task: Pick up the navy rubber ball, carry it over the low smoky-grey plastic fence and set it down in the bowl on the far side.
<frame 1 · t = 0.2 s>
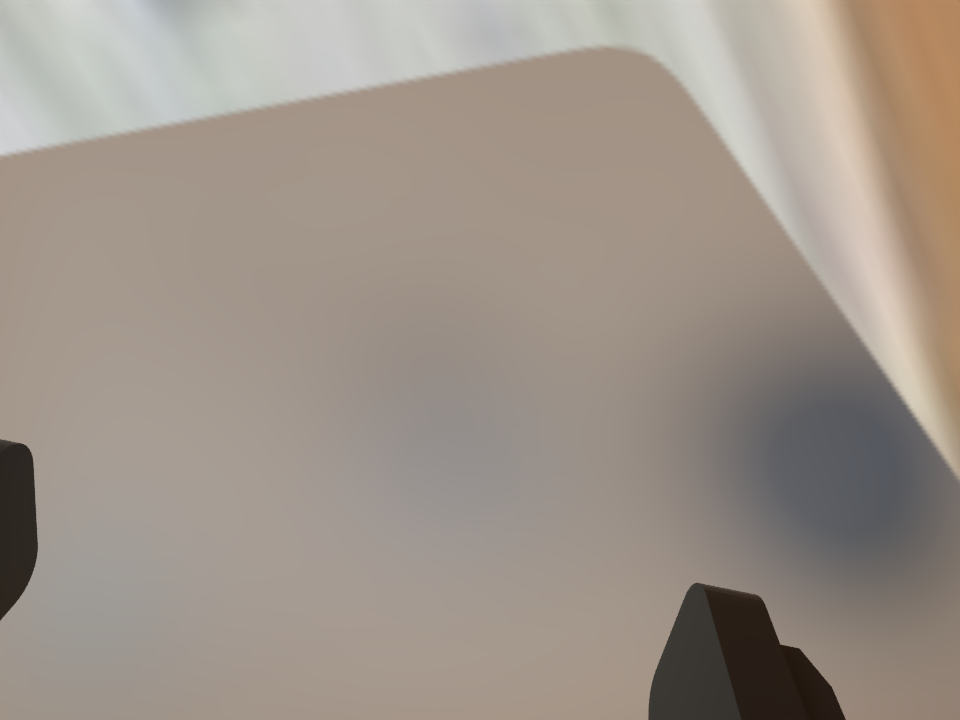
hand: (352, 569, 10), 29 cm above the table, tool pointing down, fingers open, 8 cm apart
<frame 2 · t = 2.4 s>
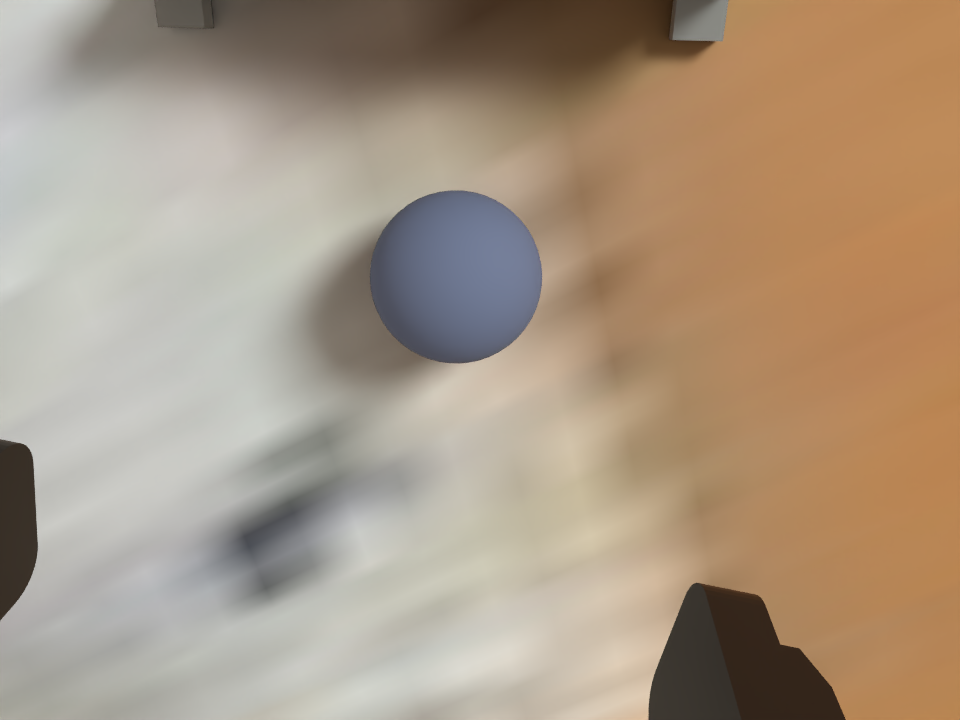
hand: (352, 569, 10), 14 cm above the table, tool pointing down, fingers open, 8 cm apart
ball: (464, 253, 22), on the table
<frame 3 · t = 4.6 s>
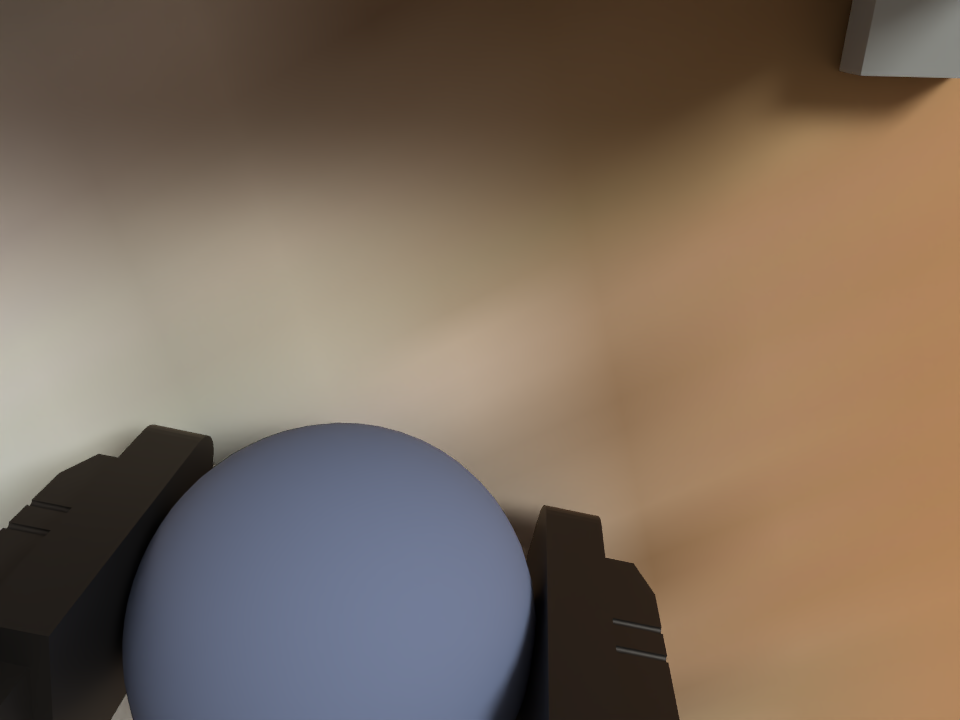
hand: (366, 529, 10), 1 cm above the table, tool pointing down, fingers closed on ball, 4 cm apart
ball: (375, 506, 11), on the table, touching gripper
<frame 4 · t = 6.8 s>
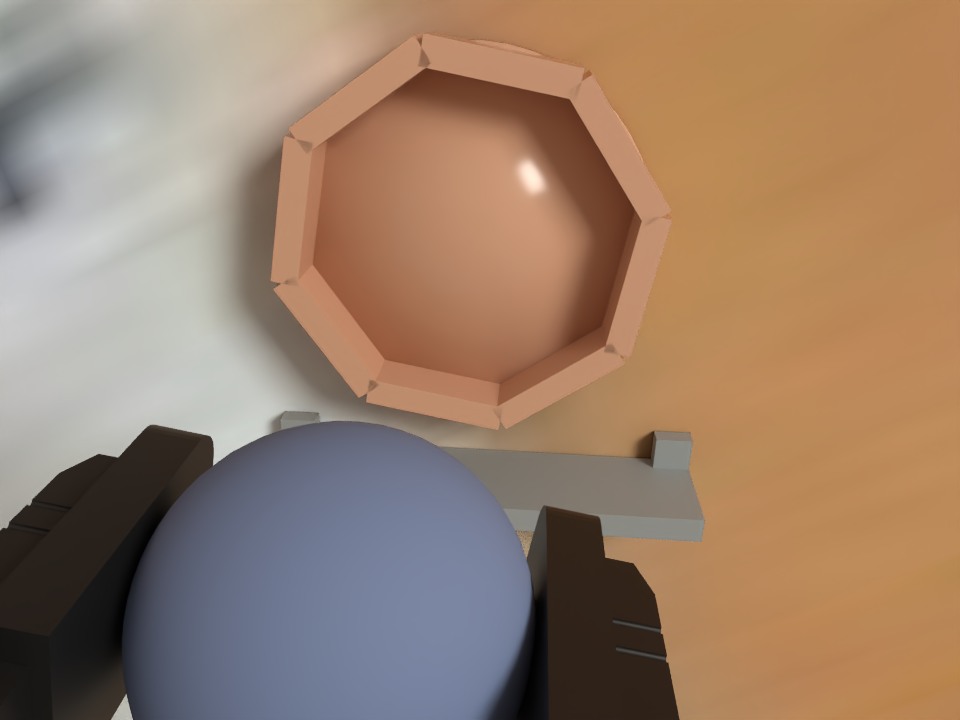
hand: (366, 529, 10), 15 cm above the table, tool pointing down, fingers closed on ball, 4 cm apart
ball: (375, 504, 11), point 15 cm above the table, touching gripper
bowl: (471, 230, 24), on the table
fence: (483, 459, 28), on the table
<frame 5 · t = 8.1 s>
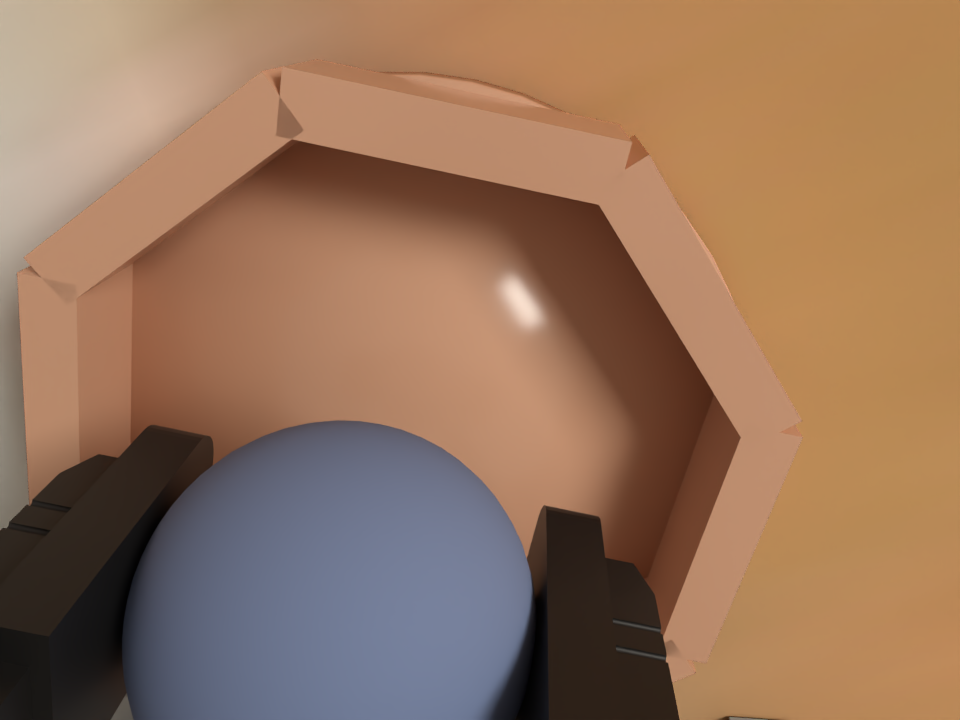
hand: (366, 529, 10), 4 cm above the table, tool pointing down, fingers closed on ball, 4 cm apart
ball: (375, 504, 11), point 3 cm above the table, touching gripper
bowl: (414, 408, 14), on the table
when the fingers open (3 cm above the table, at t = 9.0 s): ball drops 1 cm, resting on bowl.
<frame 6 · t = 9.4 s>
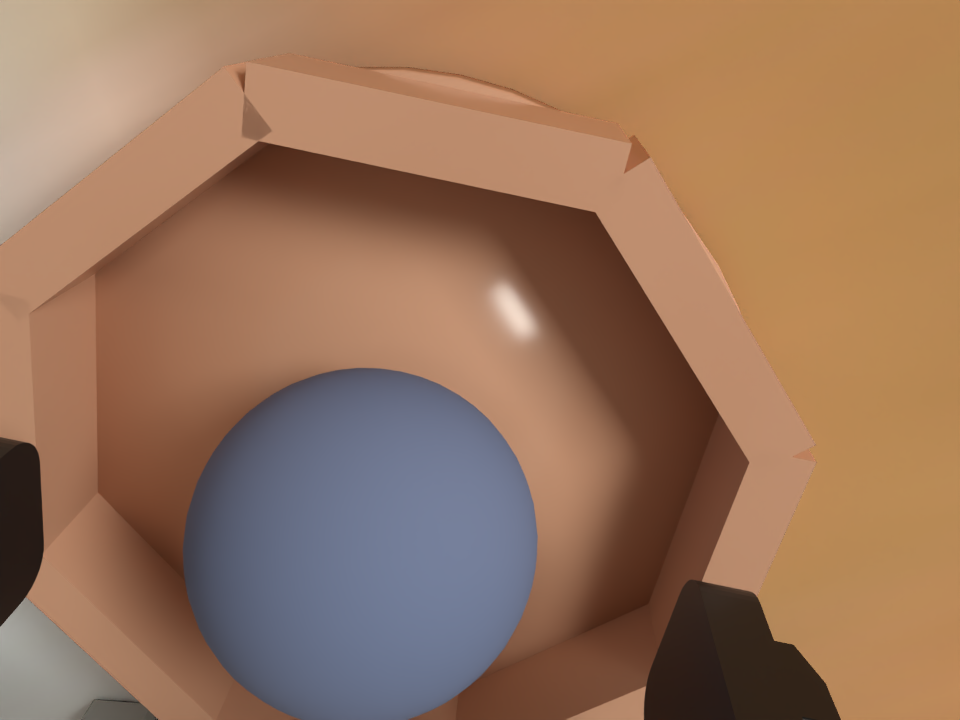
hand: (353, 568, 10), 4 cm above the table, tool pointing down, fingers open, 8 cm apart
ball: (394, 450, 12), point 1 cm above the table, touching bowl
bowl: (400, 425, 13), on the table
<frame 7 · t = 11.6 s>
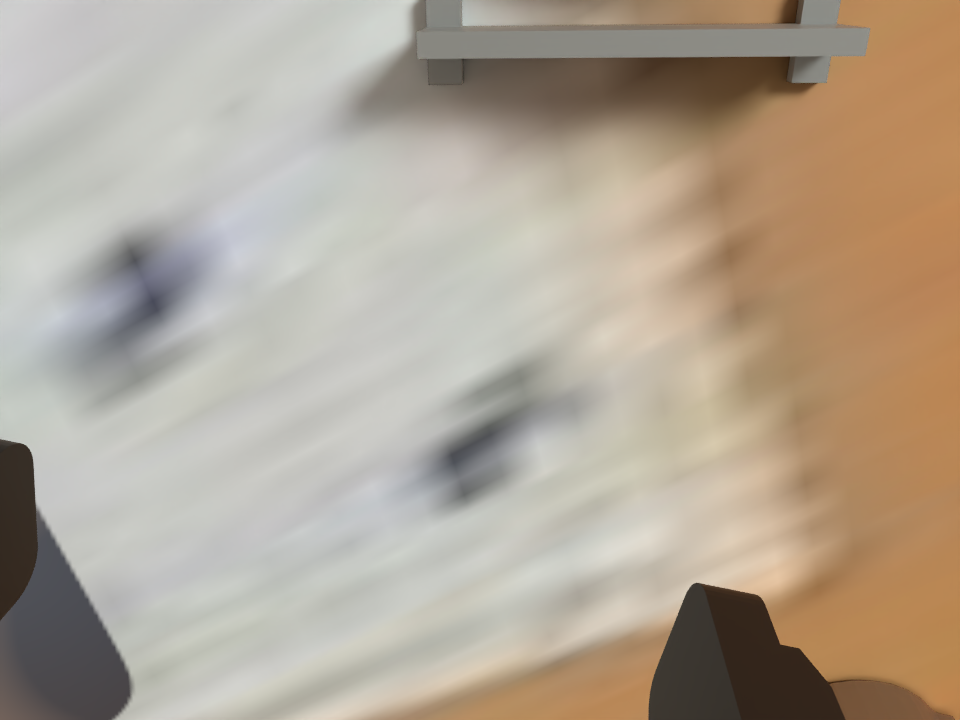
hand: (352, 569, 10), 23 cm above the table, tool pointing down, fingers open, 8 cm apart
fence: (626, 37, 28), on the table
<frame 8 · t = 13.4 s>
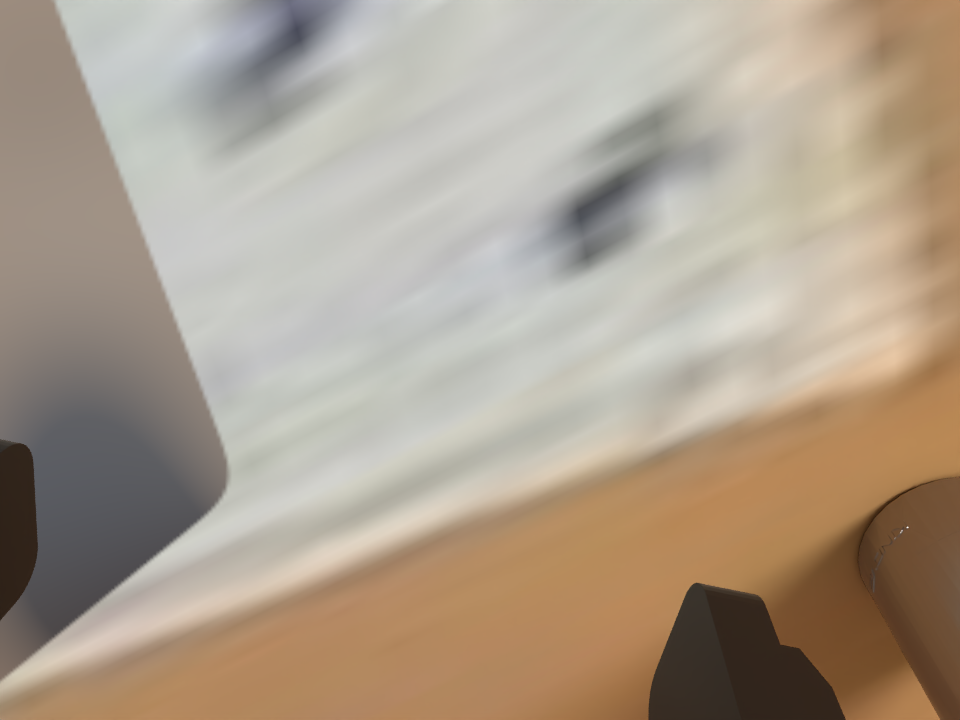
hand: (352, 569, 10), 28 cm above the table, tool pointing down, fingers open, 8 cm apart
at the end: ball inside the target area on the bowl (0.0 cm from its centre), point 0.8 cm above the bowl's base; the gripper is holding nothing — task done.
